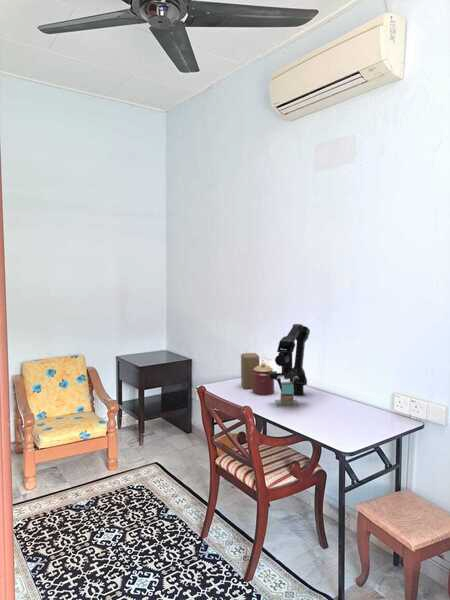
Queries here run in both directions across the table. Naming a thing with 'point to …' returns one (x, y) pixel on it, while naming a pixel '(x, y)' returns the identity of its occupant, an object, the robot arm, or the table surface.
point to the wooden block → (248, 368)
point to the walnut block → (287, 399)
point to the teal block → (287, 387)
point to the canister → (262, 380)
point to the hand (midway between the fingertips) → (287, 390)
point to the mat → (279, 404)
